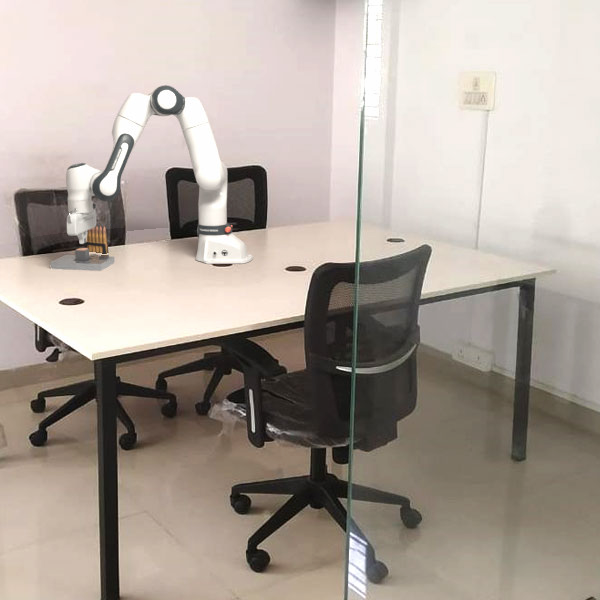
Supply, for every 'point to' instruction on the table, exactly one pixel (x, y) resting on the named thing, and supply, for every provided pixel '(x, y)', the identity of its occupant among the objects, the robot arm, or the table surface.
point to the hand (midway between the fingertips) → (83, 243)
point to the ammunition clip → (97, 241)
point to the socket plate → (82, 263)
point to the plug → (82, 254)
